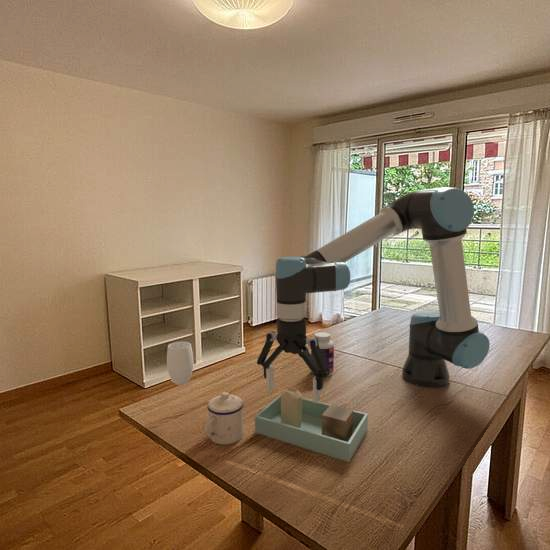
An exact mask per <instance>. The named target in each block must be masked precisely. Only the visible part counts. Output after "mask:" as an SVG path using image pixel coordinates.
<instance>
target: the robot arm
mask: <svg viewBox="0 0 550 550" xmlns="http://www.w3.org/2000/svg"><path fill="white" fill-rule="evenodd" d="M474 216H475V207H474V202H473V200H472V198H471V197H470V195H469V194H468V193H467V191H466V192H465V191H464V190H463V189H461V188H458V187H446V186H445V187H437V188H436V187H435V188H426V189H417V190H414V191H410V192H408V193H407V194H404V195H402V196H401V197H398V198H397V199H395V200H394V201H392V202H390V203H388V204H387V205H385V206H384V207H381V209H380V211H379V213H378V214H376V215H374V216H372V217H370V218H369V219H367V220H366V221H364V222H362V223H361V224H359V225H357V226H356V227H353V228H352V229H350V230H348V231H346V232H345V233H344V234H342V235H340V236H338V237H337V238H334V239H333V240H332V241H330V242H328V243H326V244H325V245H322V246H321V247H319V248H318V249H315V250H314V251H312V252H310V253H308V254H306V255H298V256H283V257H279V258H278V259H277V260H276V261H275V262H276V263H275V273H274V274H275V275H274V277H275V289H276V290H275V291H276V293H275V294H276V301H275V302H276V317H277V318H276V331H277V333H275V331H274V330H272V331H269V332H268V333H267V334H266V336H265V337H266V338H265V342H264V345H263V347H262V350H261V352H260V354H259V356H258V358H257V361H256V364H257V365H259V366H262V368H263V378H264V379H266V392H267V393H270V392H271V391H272V390H274V389H275V379H274V378H275V377H274V376H275V371H274V365H272V363H273V362H274V361H275V360H276V359H277V358H278V356H279V355H281V354H282V352H283V351H284V353H287V354H288V353H290V354H292V355H298V356H299V358H301V359H302V361H304V363H305V365H306V366H307V367H308V368H309V369H310V372H311V371H312V372H313V373H312V372H311V373H312V375H314V377H312V400H313V403H316V402H317V401H318V402H319V400H320V399H321V390H323V388H324V379H325V378H328V377H329V376H328V375H329V374H330V370H329V367H328V365H327V363H326V361H325V359H324V356H323V354H322V352H321V350H320V348H319V343H318V338H316V337H315V336H314V337H313V338H308V337H307V318H306V316H307V304H306V303H307V302H306V301H307V294H314V293H326V292H337V291H341V290H346V289H347V288H349V285H350V283H351V270H350V267H349V266H348V265H347V263H346V262H348V261H350V260H351V259H353V258H355V257H357V256H359V255H360V254H363V252H365V251H367V250H368V249H371V248H372V247H374V246H375V245H377V244H378V243H380V242H382V241H383V240H385V239H387V238H389V237H390V236H392V235H394V236H397V235H400V234H401V233H403V232H407V231H409V230H416V229H417V230H420V231H421V236H422V240H423V241H424V242H425V243H427V244H428V245H429V250H430V252H429V253H430V258H431V266H432V271H433V278H434V285H435V293H436V298H437V306H438V312H437V311H436V312H433V311H432V312H431V311H428V312H427V311H426V312H424V311H423V312H417V313H416V312H415V313H413V314H412V315H411V316H410V322H409V337H408V339H409V340H408V355H407V358H406V360H405V363H403V364H404V365H403V367H402V371H401V372H402V373H401V375H402V378H403V380H404V381H407V382H408V383H411V384H413V385H415V386H419V387H424V388H425V387H426V388H442V387H446V386H447V385H448V384H449V383H450V373H449V369H448V366H447V363H446V362H449V363H450V364H452V365H454V366H456V367H460V368H462V369H466V370H468V369H470V370H471V369H475V368H476V367H477V366H480V365H481V364H482V363H483V361H484V360H485V359H486V357H487V356H488V354H489V351H490V346H491V345H490V343H491V342H490V341H489V338H488V336H487V335H485V333H483V332H481V331H480V330H479V329H480V328H479V322H478V319H476V318H475V317H474V316H472V313H471V311H472V310H471V304H470V302H471V301H470V296H469V287H468V279H467V271H466V263H465V256H464V255H465V254H464V248H463V247H464V246H463V238H464V237H465V236H466V235H467V233H468V232H467V228H468V227H469V226H470V225H471V223H472V222H473V221H472V219H474ZM275 341H277V342H278V346H277V347H276V348H275V350H274V351H273V352H272V353H271V355H270V356H269V357H268V355H269V353H270V350H271V348H272V347H273V344H274V343H275ZM306 345H308V347H307V346H306ZM309 348H310V350H309ZM311 351H312V354H313V356H314V358H315V360H316V361H315V360H314V358H313V357H312V356H311ZM316 362H317V363H316Z"/></svg>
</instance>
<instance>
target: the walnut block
mask: <svg viewBox="0 0 550 550" xmlns="http://www.w3.org/2000/svg"><path fill="white" fill-rule="evenodd" d="M353 410H354V409H350V408H346V407H343V406H338V405H334V404H330V406H329V407H328V408H327V410H326V411H325V412H324V413H323V414H322V435H325V436H328V437H332V438H335V439H339V440H342V441H346V442H348V441H349V440H350V438H351V436H352V431H353Z"/></svg>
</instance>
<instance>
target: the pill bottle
mask: <svg viewBox="0 0 550 550" xmlns="http://www.w3.org/2000/svg"><path fill="white" fill-rule="evenodd" d="M315 337H316V338H318V343H319V348H320V350H321V352H322V354H323V356H324V359H325V361H326V363H327V365H328V367H329V370H330V374H329V375H328V376H327V377H329V376H332V375H333V373H334V363H335V362H334V361H335V360H334V358H335V355H334V354H335V344H334V341H333V340H331V334H330V333H329V332H323V331H322V332H321V331H319V332H315V333H314V338H315ZM310 354H311V356H312V357H313V358H314V356H313V354H312V351H311V350H310ZM314 360H315V358H314ZM315 361H316V360H315ZM316 363H317V362H316ZM310 372H311V373H312V374H313V372H312V371H311V370H310Z"/></svg>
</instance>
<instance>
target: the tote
mask: <svg viewBox="0 0 550 550" xmlns="http://www.w3.org/2000/svg"><path fill="white" fill-rule="evenodd" d="M330 405H331V404H330V403H329V404H328V403H325V402H322V401H321V402H320V401H319V400H318V401H317V402H316V403H313V399H309V398H305V397H302V415H301V427H300V428H297V427H294V426H290V425H287V424H284V423H281V393H280V394H279V395H278V396H277V397H276V398H274V399H273V400H272V401H271V402H270V403H269V404H267V405H266V406H265V407H264V408H263V409H262V410H261V411H259V413H257V414H256V415H255V416H254V433H255V434H258V435H262V436H264V437H268V438H270V439H275V440H277V441H281V442H284V443H287V444H290V445H293V446H297V447H299V448H303V449H307V450H309V451H312V452H315V453H318V454H322V455H325V456H328V457H331V458H335V459H337V460H338V459H339V460H341V461H344V462H348V463H349V462H351V459H353V456H354V455H355V452H357V449H358V447H359V445H360V443H361V442H362V441H363V438H364V436H365V435H366V433H367V431H368V428H369V427H368V425H369V423H368V422H369V414H368V413H365V412H362V411H359V410H358V411H356V410H354V409H352V410H353V431H352V436H351V438H350V440H349V441H348V442H346V441H342V440H339V439H335V438H332V437H328V436H325V435H322V414H323V413H324V412H325V411H326V410H327V408H328V407H329V406H330Z"/></svg>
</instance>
